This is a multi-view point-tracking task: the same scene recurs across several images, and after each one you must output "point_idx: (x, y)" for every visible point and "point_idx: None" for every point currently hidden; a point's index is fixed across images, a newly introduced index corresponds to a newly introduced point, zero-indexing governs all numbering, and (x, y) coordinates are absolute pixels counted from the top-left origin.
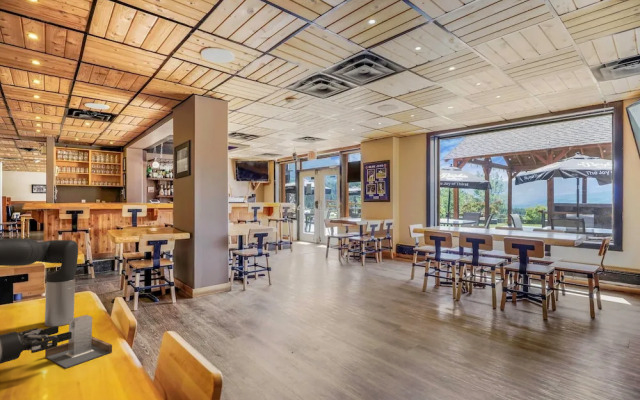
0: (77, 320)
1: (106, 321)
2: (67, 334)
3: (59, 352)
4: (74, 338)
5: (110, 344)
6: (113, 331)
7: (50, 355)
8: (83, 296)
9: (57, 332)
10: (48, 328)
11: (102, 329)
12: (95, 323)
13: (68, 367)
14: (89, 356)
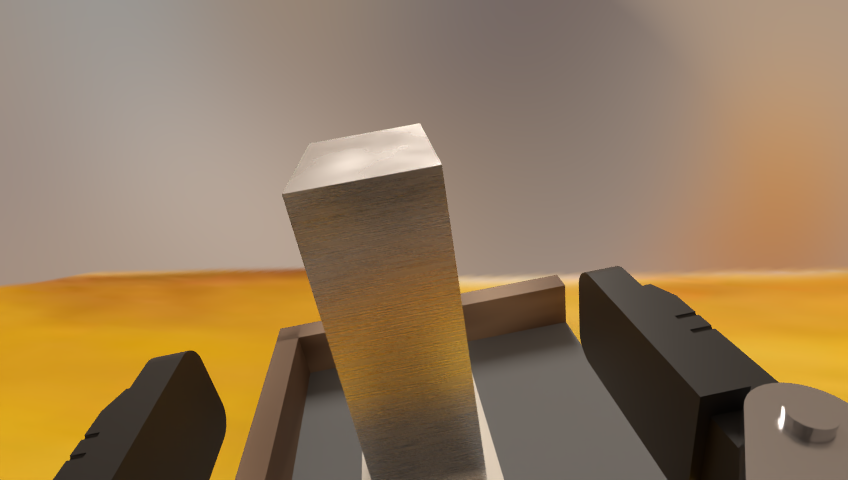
0: (429, 157)
1: (93, 290)
2: (667, 303)
3: None
4: (467, 351)
5: (544, 279)
6: (248, 286)
7: None
8: None
9: (223, 421)
10: (122, 453)
11: (164, 310)
12: (48, 320)
13: None
14: (564, 403)
